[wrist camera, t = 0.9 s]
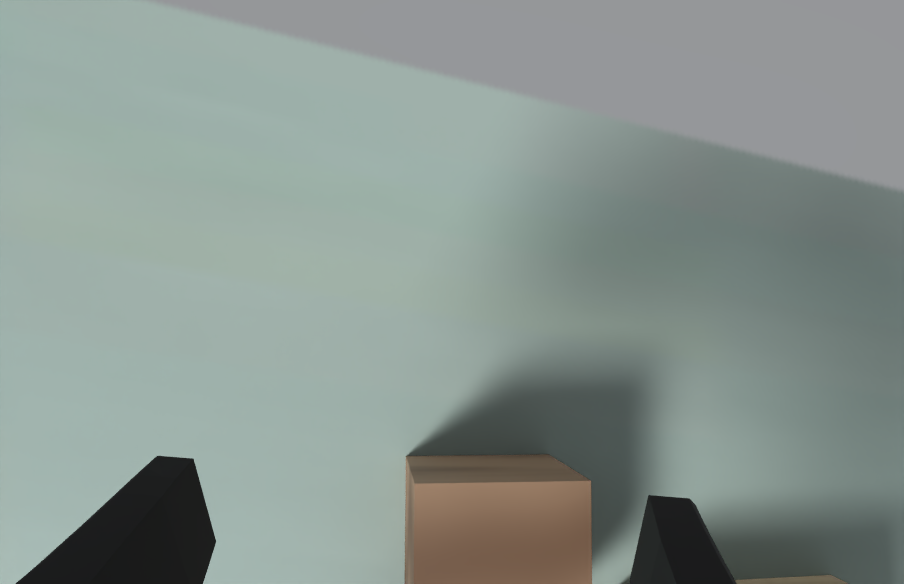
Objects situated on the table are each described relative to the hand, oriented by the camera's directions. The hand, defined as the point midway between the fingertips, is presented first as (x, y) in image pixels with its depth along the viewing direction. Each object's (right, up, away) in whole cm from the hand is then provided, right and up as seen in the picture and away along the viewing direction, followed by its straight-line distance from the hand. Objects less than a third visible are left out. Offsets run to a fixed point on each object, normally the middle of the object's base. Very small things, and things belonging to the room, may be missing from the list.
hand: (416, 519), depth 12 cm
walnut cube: (+1, -4, +13) cm, 14 cm away
